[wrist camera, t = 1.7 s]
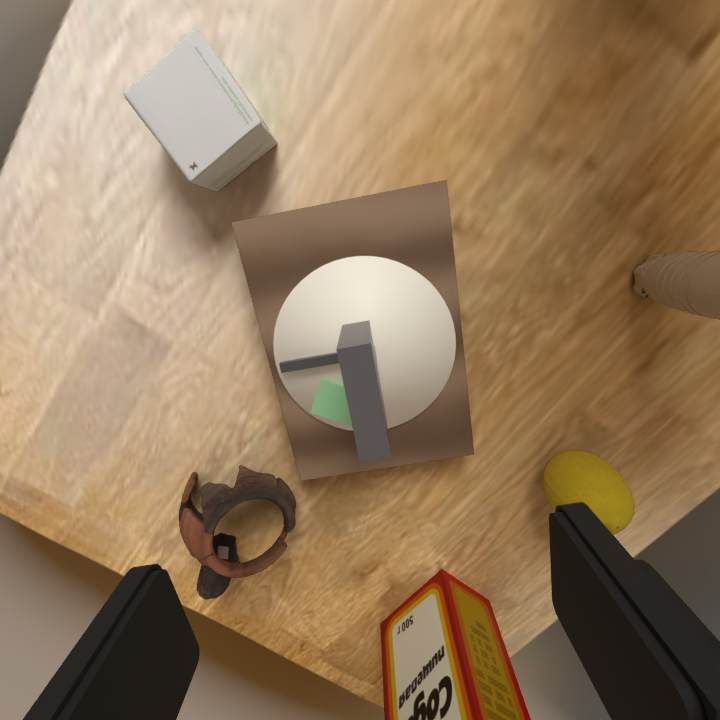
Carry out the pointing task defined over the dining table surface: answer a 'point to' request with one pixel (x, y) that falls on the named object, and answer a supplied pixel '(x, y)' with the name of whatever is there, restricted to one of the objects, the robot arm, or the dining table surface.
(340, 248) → the board
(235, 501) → the broken clay pot
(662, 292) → the handle
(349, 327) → the grey block with rod
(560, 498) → the lemon
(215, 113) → the small box
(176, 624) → the robot arm
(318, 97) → the dining table surface
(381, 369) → the dial
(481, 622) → the baking soda box
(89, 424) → the dining table surface
